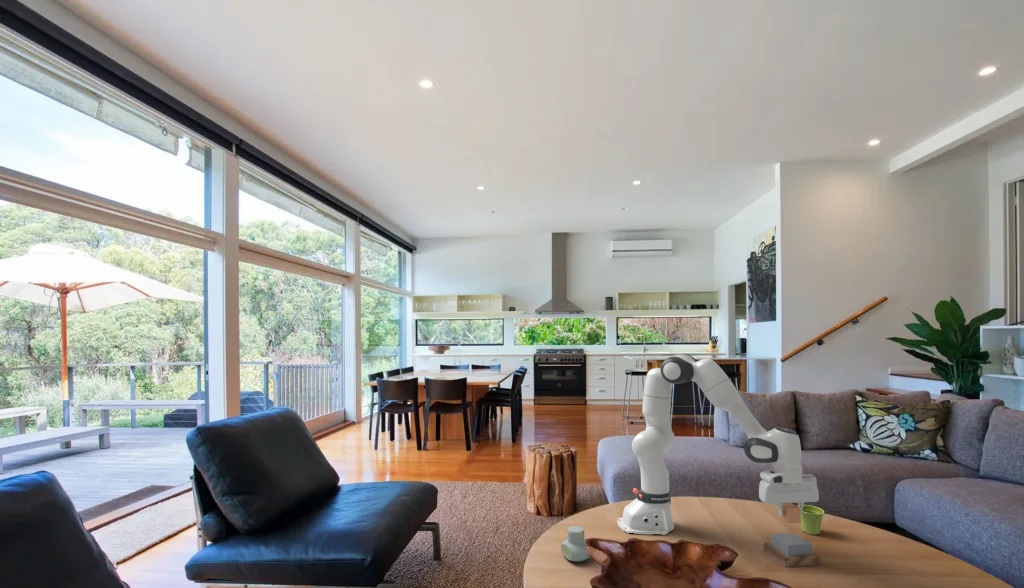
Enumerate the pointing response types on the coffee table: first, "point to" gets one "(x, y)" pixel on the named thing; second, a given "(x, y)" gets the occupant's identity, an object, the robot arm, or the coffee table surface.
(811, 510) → the plant pot
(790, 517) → the rust cube
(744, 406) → the robot arm
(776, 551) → the lower tower block
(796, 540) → the upper tower block
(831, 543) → the coffee table surface
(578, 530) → the air freshener
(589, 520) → the coffee table surface
